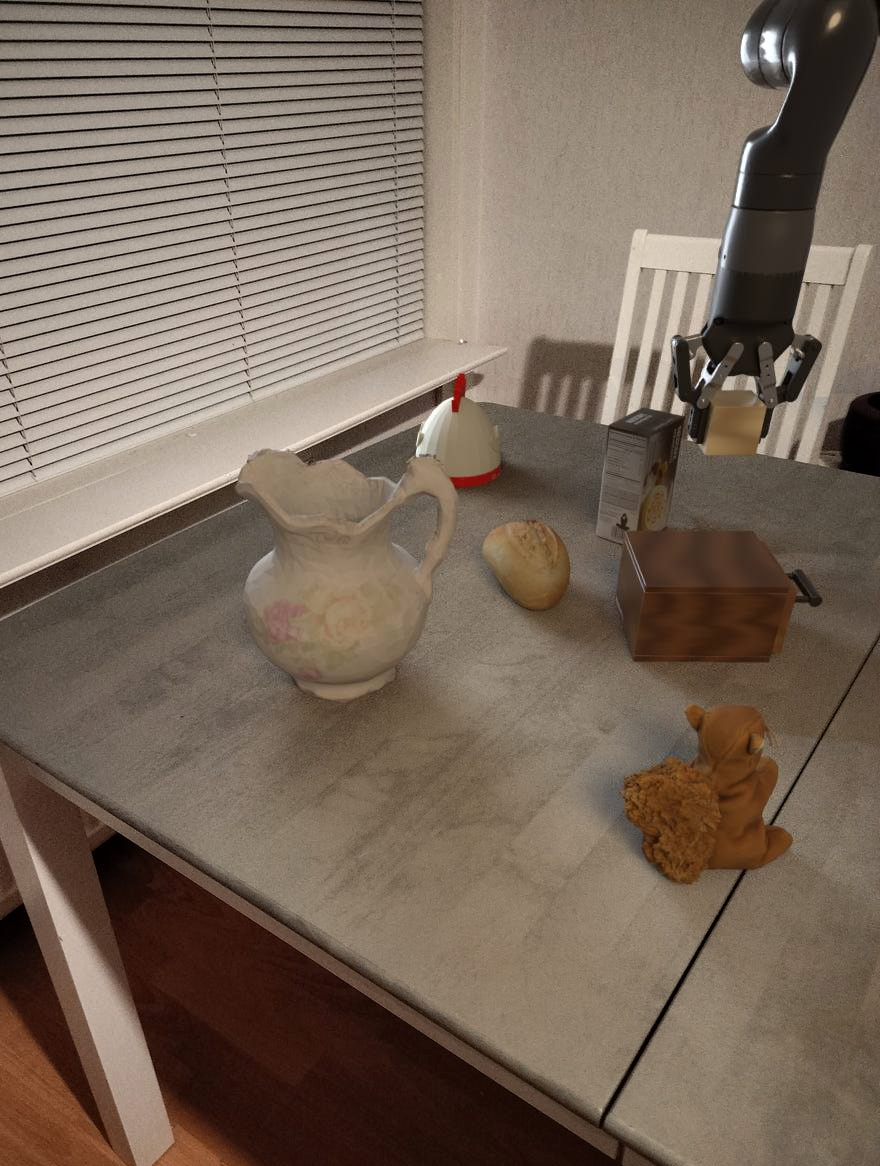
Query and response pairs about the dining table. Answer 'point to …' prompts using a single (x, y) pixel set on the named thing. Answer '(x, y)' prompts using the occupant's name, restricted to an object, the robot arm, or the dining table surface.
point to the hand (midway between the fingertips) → (725, 440)
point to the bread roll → (529, 562)
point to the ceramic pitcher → (340, 569)
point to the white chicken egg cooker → (461, 439)
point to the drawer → (793, 597)
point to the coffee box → (639, 473)
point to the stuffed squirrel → (709, 799)
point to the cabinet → (699, 596)
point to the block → (733, 423)
